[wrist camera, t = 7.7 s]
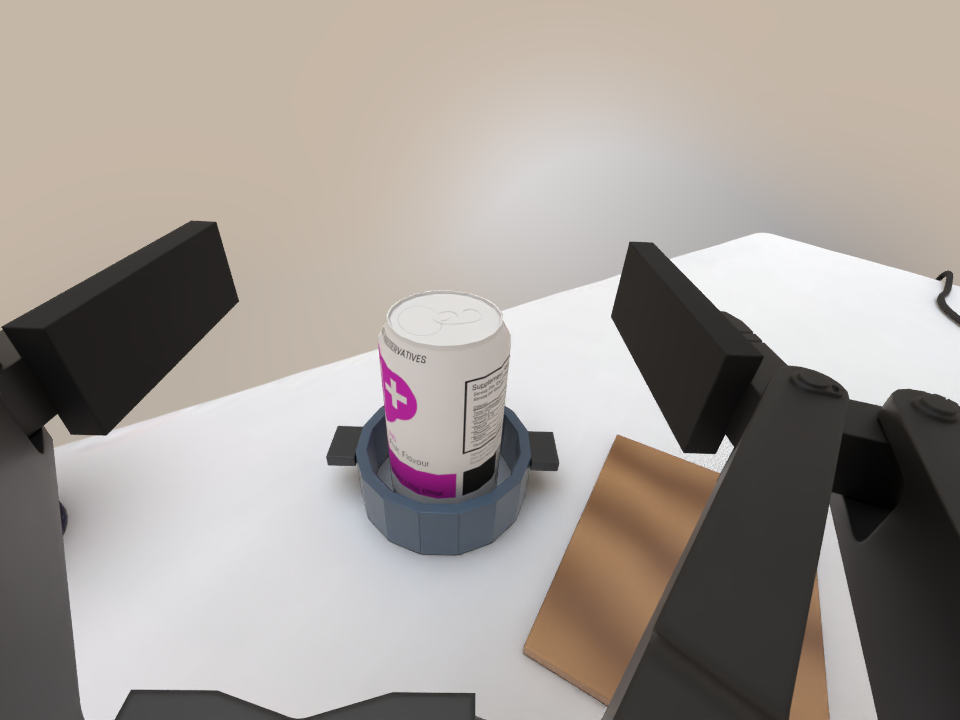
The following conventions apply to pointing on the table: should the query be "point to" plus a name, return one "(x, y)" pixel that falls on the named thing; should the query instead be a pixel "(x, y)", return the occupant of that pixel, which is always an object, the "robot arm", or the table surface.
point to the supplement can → (444, 394)
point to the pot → (442, 523)
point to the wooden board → (638, 576)
